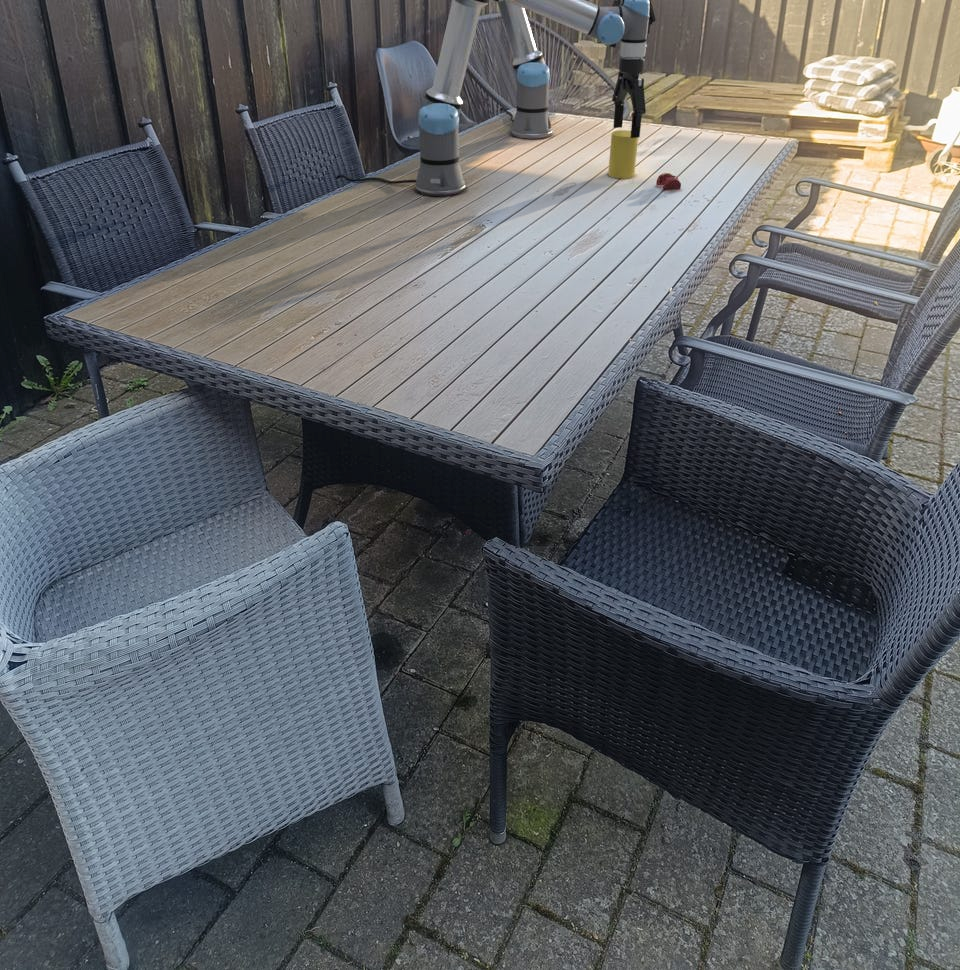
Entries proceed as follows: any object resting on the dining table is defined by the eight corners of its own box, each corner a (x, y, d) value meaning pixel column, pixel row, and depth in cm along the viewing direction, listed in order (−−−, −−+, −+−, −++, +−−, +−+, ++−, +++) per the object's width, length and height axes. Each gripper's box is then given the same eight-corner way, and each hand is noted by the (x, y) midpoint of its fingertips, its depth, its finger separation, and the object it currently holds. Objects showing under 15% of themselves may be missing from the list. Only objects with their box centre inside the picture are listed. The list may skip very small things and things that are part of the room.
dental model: (672, 169, 261) (683, 176, 255) (671, 183, 263) (682, 190, 257) (655, 171, 260) (666, 178, 254) (654, 185, 262) (665, 192, 256)
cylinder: (604, 176, 270) (607, 134, 263) (614, 169, 276) (617, 129, 269) (628, 179, 267) (632, 138, 260) (638, 173, 273) (642, 132, 266)
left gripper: (662, 63, 243) (654, 140, 255) (627, 50, 262) (621, 122, 275) (638, 65, 241) (631, 142, 253) (605, 51, 261) (600, 124, 273)
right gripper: (610, -20, 288) (605, 49, 300) (670, -23, 297) (662, 44, 309) (598, -22, 293) (593, 46, 306) (657, -25, 302) (650, 41, 315)
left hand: (626, 132), depth 264 cm, fingers open, 13 cm apart
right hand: (628, 45), depth 308 cm, fingers open, 13 cm apart
